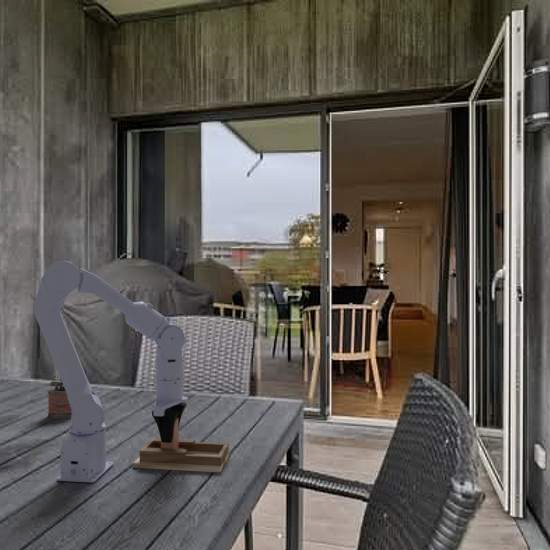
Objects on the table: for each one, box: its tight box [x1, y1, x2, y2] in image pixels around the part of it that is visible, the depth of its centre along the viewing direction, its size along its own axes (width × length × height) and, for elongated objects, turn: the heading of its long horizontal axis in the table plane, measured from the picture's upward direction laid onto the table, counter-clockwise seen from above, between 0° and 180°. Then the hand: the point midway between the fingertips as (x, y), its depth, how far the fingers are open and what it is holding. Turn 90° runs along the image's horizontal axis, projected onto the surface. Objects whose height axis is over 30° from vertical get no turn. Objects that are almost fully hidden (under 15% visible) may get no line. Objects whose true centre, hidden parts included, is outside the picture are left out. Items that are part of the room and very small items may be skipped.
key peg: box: [161, 418, 184, 449], centre depth 113 cm, size 5×5×8 cm
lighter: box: [47, 380, 72, 419], centre depth 145 cm, size 8×3×10 cm, turn 92°
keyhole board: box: [132, 437, 231, 473], centre depth 113 cm, size 10×19×3 cm, turn 83°
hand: (169, 439), depth 113 cm, fingers closed on key peg, 3 cm apart
